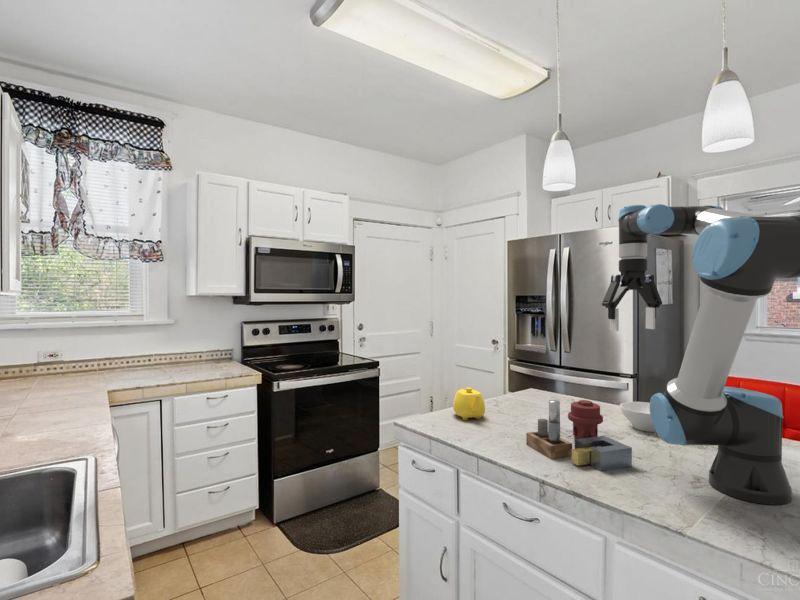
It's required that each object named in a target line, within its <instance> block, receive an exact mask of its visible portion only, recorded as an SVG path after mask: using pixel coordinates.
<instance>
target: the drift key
mask: <svg viewBox="0 0 800 600" xmlns="http://www.w3.org/2000/svg"><path fill="white" fill-rule="evenodd" d="M571 463H572V464H574V465H576V466H584V465H591V447H585V448H578V449H575V448H572V456H571Z"/></svg>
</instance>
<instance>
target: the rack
mask: <svg viewBox="0 0 800 600" xmlns="http://www.w3.org/2000/svg"><path fill="white" fill-rule="evenodd" d="M548 421H549V419H547V418H538V419H537V431H531V432H526V436H525V437H526V438H525V439H526V440H525V441H526V445H527V446H529V447H530V448H532V449H534V450H535V451H537V452H538V453H540V454H542V455H544V456H546V457H547V458H549V459H550V460H551V459H559V458H567V457H572V449H573V443H572V442H570V441H568V440H566V439H564V438H562V437H560V444H554V445H553V444H551V443H549V442H548Z"/></svg>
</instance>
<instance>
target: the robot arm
mask: <svg viewBox="0 0 800 600" xmlns="http://www.w3.org/2000/svg"><path fill="white" fill-rule="evenodd" d="M618 214H619V215H618V220H617V221H618V257H619V260H618V271H619V273H620V274H611V277H610V283H609V285H608V288H607V290H606V293H605V295H604V297H603V300H602V303H601V305H602V306H603V307H605V308H606V309H607V317H608V319H609V330H610V331H615V332H617V331H618V332H619V331H620V330H619V323H620V321H619V320H620V319H619V312H620V311H619V310H620V309H619V307H618V305H619V304H620V302H621V301H622V299H623V298H624V297H625V295H626V293H627V292H629V291H631V290H632V291H637V292H638V293H639V295H640V296H641V298H642V299H643V301H644V302H645V304H646V305H647V306H648V307H645V329H646V330H656V318H657V308H660V306H662V305H663V301H662V298H661V295H660V292H659V290H658V288H657V285H656V282H655V275H654V274H646V272H647V271H648V259H647V257H648V236H653V235H656V236H657V235H697V236H698V237H697V238H696V241H695V242H694V246H693V248H692V249H693V250H692V258H693V261H692V267H693V268H694V270H695V272H696V273H697V274H698V276H699V282H700V283H701V284H702V286H704V288H705V289H704V292H703V295H702V298H701V302H700V305H699V308H698V311H697V314H696V317H695V321H694V324H693V327H692V330H691V334H690V337H689V341H688V343H687V347H686V349H685V351H684V355H683V358H682V362H681V366H680V369H679V372H678V375H677V377H675V378H672V379H671V380H669V381H668V382H667V384H666V387H665V389H664V390H665V391H664V393H661V392H657V393H655V394H653V395H652V396H651V398H650V399H649V400H650V401H649V403H650V415H651V419H652V423H653V426H654V428H655V430H656V432H655V433H656V434H657V435H658V436H659V438H660V439H661V441H664V442H665V443H666V444H669V445H677V446H678V445H679V446H683V447H684V446H717V452H716V455H715V457H714V460H713V461H712V464H711V466H710V469H709V471H708V483H709V484H710V486H711V487H712V488H714V489H715V490H717V491H718V492H721V493H722V494H725V495H727V496H729V497H733V498H736V499H739V500H743V501H746V502H751V503H756V504H762V505H771V506H772V505H773V506H774V505H775V506H777V505H785V504H786V505H787V504H789V503H791V502H792V501H793V500H792V499H793V498H792V497H793V496H792V495H793V494H792V493H793V491H792V486H791V485H790V482H789V479H788V476H787V474H786V471H785V468H784V465H783V460H782V457H783V419H784V415H783V414H784V413H783V404H782V402H781V400H780V399H779V398H778V397H776V396H774V395H772V394H767V393H764V392H759V391H756V390H751V389H746V388H742V387H735V386H726V384H727V383H726V382H727V380H728V379H729V378H728V377H729V374H730V372H731V369H732V367H733V363H734V362H735V359H736V357H737V353H738V351H739V347H740V345H741V342H742V340H743V337H744V334H745V332H746V330H747V326H748V325H749V321H750V318H751V316H752V313H753V312H754V308H755V306H756V303H757V300H759V299H760V298H763V297H766V296H768V295H769V294H770V293H771V291H772V288H773V286H774V283H775V281H776V279H793V278H794V279H796V278H797V279H798V278H800V215H789V216H785V215H784V216H783V215H782V216H780V215H779V216H763V215H758V214H751V213H745V212H738V211H734V210H733V211H732V210H728V209H727V210H726V209H724V207H722V206H719V205H698V206H697V205H696V206H669V205H665V204H661V203H660V204H659V203H658V204H652V205H649V206H646V205H645V204H644V205H643V204H634V205H633V204H632V205H627V206H623V207H621V208H620V209H619V213H618ZM617 307H618V308H617Z"/></svg>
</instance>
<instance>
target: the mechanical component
mask: <svg viewBox="0 0 800 600" xmlns="http://www.w3.org/2000/svg"><path fill="white" fill-rule="evenodd" d="M567 419H568V420H569V421H570V422H572V435H573V439H574V440H575V439H582V438H590V437H598V436H599V434H598V431H599V430H598V427H599V425H601V424H603V422H604V416H603V415H602V414H601V405H599V404H598V403H594V402H593V401H591V400H586V399H580V400H578V401H573V402H571V403H570V411H569V412H568V413H567Z"/></svg>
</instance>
